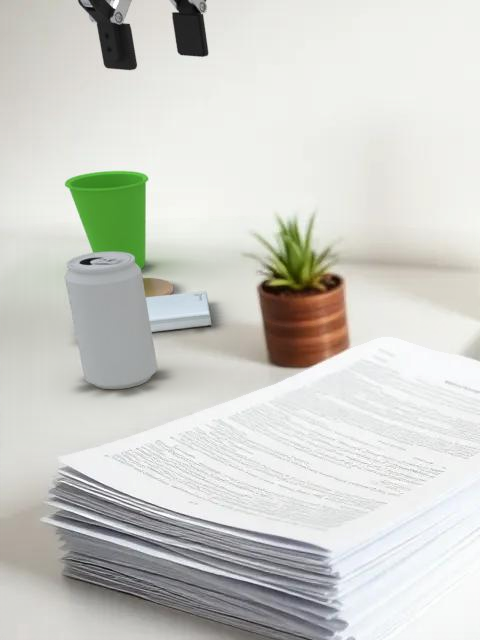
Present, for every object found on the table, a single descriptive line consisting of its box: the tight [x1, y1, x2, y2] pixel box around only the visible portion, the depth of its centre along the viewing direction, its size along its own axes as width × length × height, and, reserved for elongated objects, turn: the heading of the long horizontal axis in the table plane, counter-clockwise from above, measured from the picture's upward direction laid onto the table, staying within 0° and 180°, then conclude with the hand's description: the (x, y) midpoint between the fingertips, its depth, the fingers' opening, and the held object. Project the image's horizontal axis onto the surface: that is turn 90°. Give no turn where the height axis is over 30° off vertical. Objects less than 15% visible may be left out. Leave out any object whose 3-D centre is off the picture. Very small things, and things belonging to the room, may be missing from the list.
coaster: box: [142, 277, 174, 297], centre depth 130 cm, size 9×9×1 cm
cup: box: [64, 170, 149, 270], centre depth 137 cm, size 9×9×11 cm
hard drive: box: [146, 290, 212, 333], centre depth 122 cm, size 2×8×12 cm
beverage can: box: [64, 252, 158, 390], centre depth 106 cm, size 6×6×12 cm
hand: (158, 61), depth 107 cm, fingers open, 9 cm apart
